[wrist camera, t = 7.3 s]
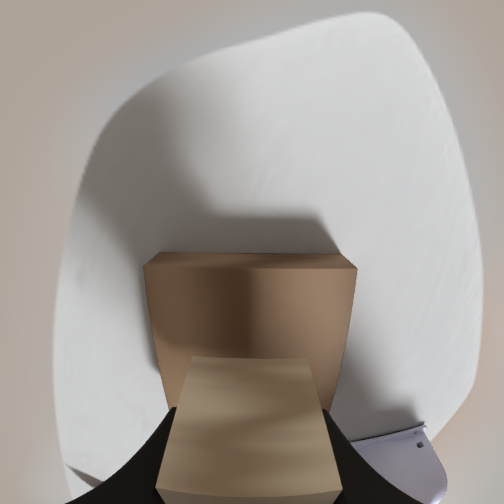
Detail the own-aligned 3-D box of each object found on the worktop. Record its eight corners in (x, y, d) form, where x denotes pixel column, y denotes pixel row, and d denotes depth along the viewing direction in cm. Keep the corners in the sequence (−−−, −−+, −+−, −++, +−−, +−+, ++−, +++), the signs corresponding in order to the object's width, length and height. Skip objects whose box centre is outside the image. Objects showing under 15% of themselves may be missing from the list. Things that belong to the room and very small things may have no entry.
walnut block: (339, 252, 15) (357, 268, 12) (319, 387, 18) (328, 416, 15) (162, 250, 15) (143, 266, 12) (179, 386, 18) (170, 414, 15)
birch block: (307, 357, 10) (342, 489, 5) (294, 427, 12) (310, 532, 6) (192, 356, 10) (155, 487, 5) (201, 426, 11) (184, 531, 6)
